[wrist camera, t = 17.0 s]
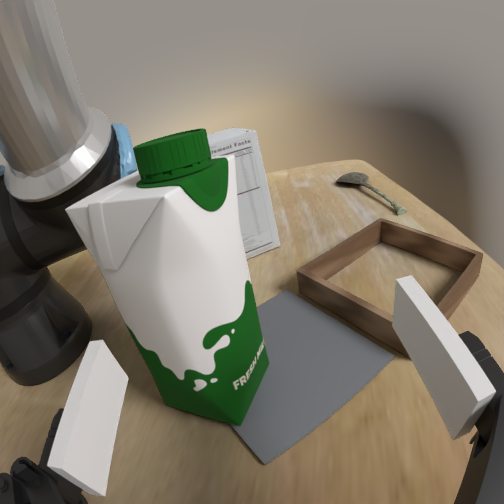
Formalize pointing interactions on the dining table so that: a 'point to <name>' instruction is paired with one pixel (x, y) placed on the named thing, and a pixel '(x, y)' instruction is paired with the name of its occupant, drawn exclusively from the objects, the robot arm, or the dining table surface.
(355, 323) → the walnut frame
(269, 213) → the supplement box
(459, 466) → the dining table surface
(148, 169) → the soya milk
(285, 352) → the rubber mat
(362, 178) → the soupspoon
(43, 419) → the dining table surface
